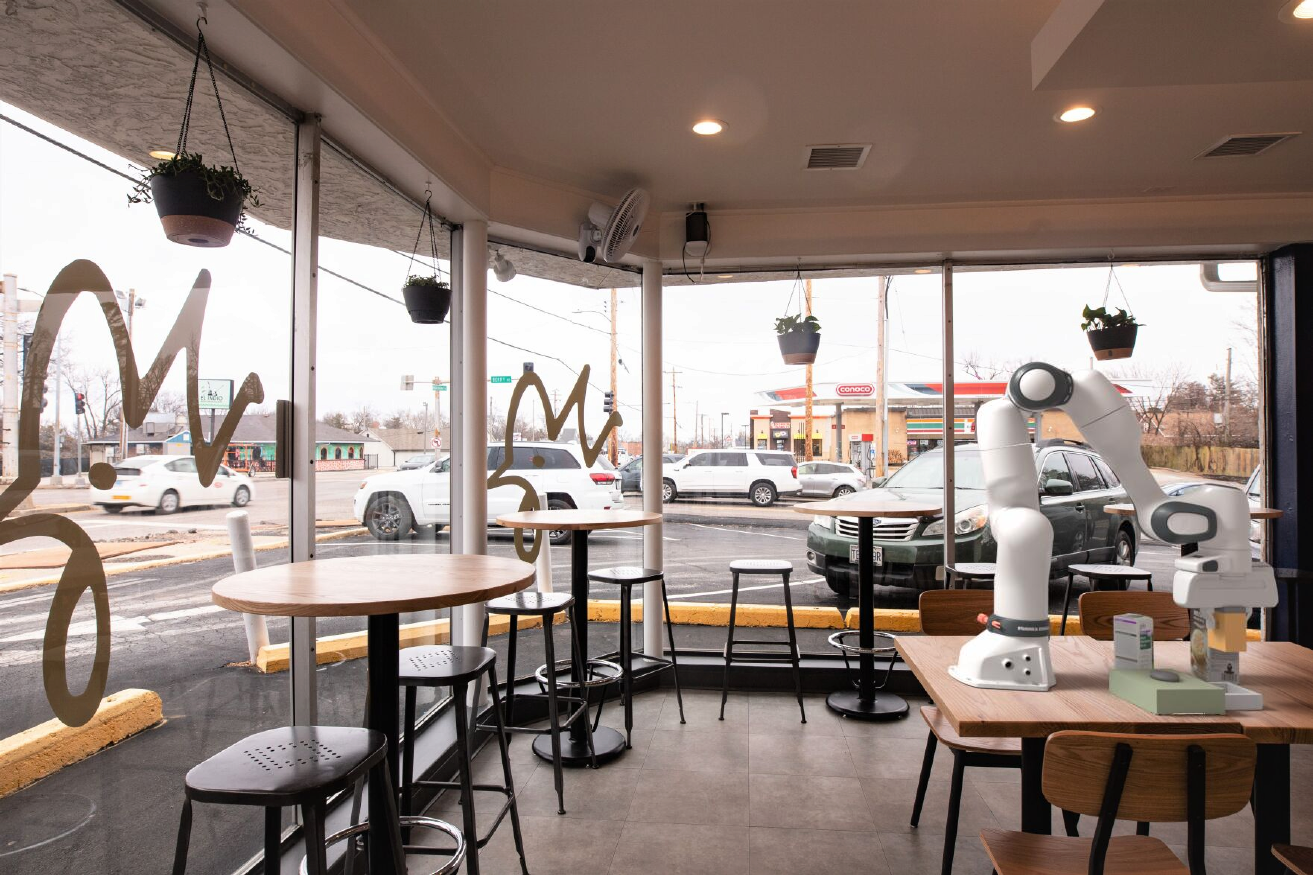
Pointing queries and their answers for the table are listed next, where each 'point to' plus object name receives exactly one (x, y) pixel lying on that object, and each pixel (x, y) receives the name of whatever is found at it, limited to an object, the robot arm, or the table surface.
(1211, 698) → the knobbed slab with frame
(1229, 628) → the orange and grey block
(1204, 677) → the coffee box
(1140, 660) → the syrup box
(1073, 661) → the table surface
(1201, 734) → the table surface
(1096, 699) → the table surface
